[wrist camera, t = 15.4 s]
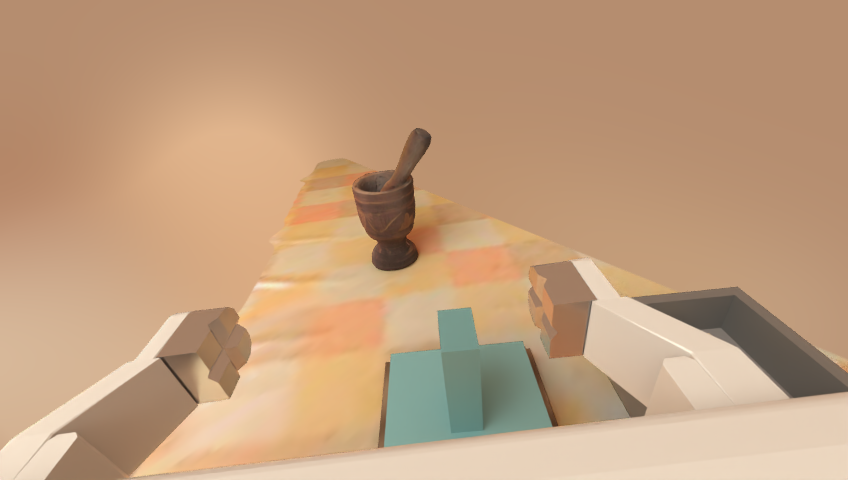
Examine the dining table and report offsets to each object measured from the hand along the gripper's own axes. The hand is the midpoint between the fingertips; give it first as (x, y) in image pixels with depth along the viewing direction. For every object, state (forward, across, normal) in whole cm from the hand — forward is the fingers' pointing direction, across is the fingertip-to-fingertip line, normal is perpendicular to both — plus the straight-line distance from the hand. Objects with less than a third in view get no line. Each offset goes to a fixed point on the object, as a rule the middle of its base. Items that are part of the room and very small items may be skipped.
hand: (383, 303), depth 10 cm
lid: (+10, +2, -23) cm, 25 cm away
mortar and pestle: (+39, -3, -25) cm, 46 cm away
